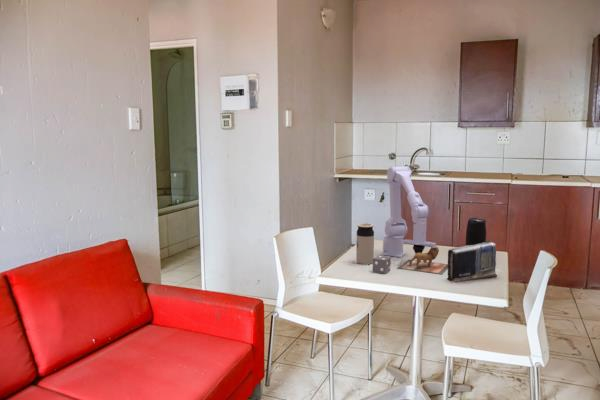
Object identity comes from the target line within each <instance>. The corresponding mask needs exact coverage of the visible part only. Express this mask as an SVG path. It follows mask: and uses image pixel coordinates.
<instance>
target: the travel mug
mask: <svg viewBox="0 0 600 400" xmlns="http://www.w3.org/2000/svg"><path fill="white" fill-rule="evenodd" d="M356 226H357V230H356V263H357V264H360V265H371V264H373V258H375V257H374V256H375V254H374V252H375V251H374V249H375V248H374V247H375V231H374V229H373V227H374V224H373V223H368V222H366V223H365V222H364V223H363V222H362V223H357V224H356Z"/></svg>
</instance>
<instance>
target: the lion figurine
mask: <svg viewBox="0 0 600 400" xmlns="http://www.w3.org/2000/svg"><path fill="white" fill-rule="evenodd" d="M439 249H440V248H439V246H437V245H436V247H435V248H432V247H430V249H429V250H428V251H427V252H424V253H423V252H422V253H416V254H415V253H414V255H413V257H412V258H410V259H411V260H410V262H409V264H410V265H409V266H411V264H412V261H413V260H417V263H416V266H417V267H418V268H420V266H418V264H419V263H420V262H421V261H424V263H426V262H429V263H428V266H431V265H430V263H431V262H433V260H436V258H437V256H438V255H439V251H440V250H439Z"/></svg>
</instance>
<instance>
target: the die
mask: <svg viewBox="0 0 600 400" xmlns="http://www.w3.org/2000/svg"><path fill="white" fill-rule="evenodd" d="M391 257H392V256H386V255H376V256H375V257H374V258H373V263H372V273H377V274H384V275H387V273H389V272H390V271H391V265H392V264H391V262H392V261H391V260H392V259H391Z"/></svg>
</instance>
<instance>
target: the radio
mask: <svg viewBox="0 0 600 400" xmlns="http://www.w3.org/2000/svg"><path fill="white" fill-rule="evenodd" d="M447 264H448V269H447V278H446V280H448V281H449V282H450V283H458V282H465V281H473V280H479V279H480V280H481V279H486V278H494V277H498V274H497V273H496V266H497V244H496V243H495V242H493V241H491V240H486V242H483V243H478V244H475V245H467V246H466V245H463V246H459V247H453V248H450V249H448V251H447Z"/></svg>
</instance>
